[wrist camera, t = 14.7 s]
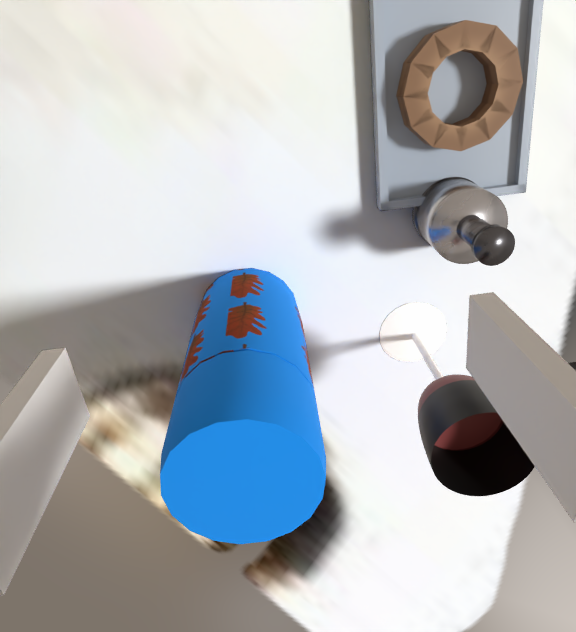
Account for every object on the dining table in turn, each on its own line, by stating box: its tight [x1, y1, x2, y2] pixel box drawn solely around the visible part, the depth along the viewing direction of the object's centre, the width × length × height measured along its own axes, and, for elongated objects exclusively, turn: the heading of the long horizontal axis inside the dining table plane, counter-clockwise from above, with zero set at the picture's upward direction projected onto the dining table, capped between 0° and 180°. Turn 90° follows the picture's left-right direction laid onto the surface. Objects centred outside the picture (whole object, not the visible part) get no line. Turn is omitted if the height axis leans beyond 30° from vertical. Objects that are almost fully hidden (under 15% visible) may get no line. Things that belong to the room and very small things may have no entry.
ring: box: [396, 20, 523, 151], centre depth 44 cm, size 10×10×2 cm
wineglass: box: [380, 302, 535, 496], centre depth 47 cm, size 8×9×20 cm
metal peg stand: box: [412, 177, 515, 266], centre depth 45 cm, size 7×7×11 cm
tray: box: [369, 0, 543, 211], centre depth 45 cm, size 14×20×2 cm
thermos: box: [160, 268, 326, 544], centre depth 43 cm, size 11×11×25 cm
